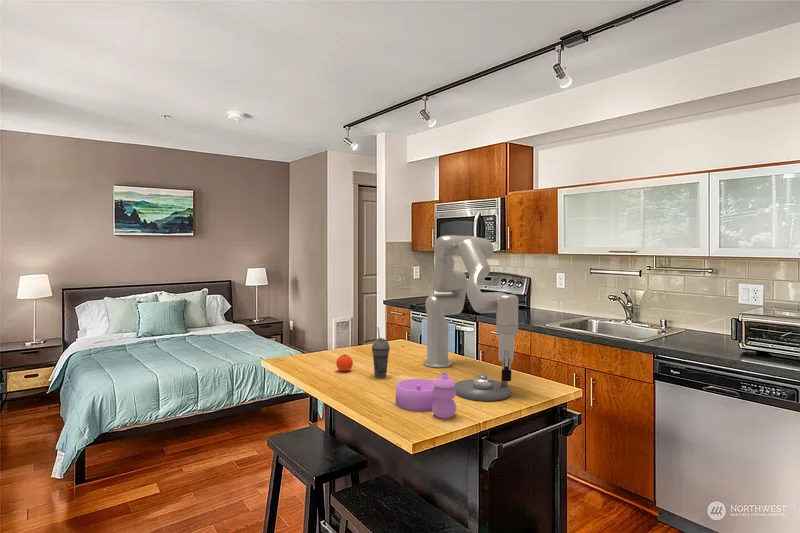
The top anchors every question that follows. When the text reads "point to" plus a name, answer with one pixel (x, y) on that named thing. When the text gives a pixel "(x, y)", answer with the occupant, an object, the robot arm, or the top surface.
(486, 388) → the cover
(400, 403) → the container set
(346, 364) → the tomato
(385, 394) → the top surface
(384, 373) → the beverage cup
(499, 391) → the grey domed disc
